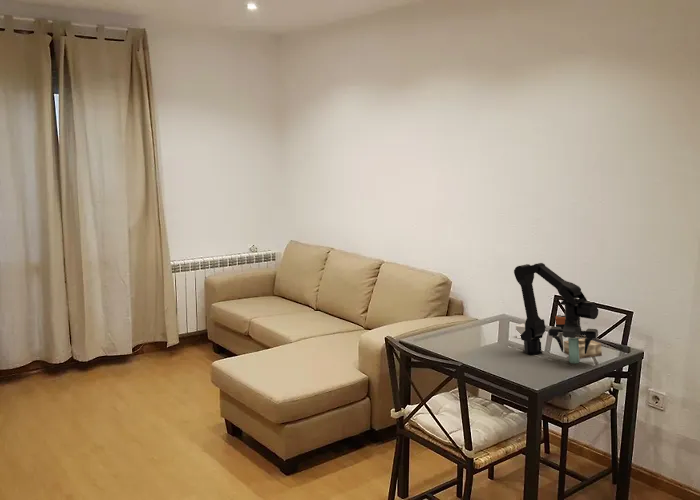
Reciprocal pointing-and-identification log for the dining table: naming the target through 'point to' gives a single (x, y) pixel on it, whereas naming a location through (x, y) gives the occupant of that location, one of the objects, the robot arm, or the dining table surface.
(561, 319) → the battery
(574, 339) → the peg
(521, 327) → the light grey cone
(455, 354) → the dining table surface
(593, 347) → the bore block
